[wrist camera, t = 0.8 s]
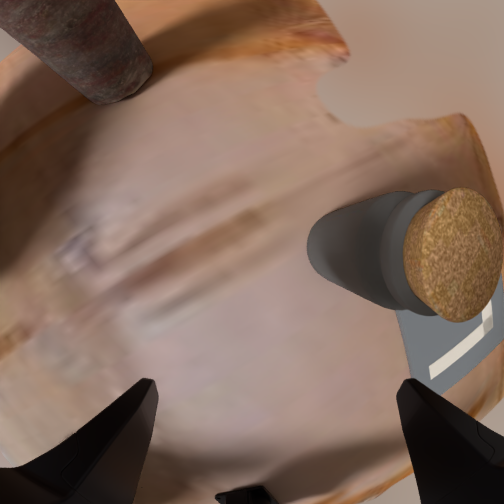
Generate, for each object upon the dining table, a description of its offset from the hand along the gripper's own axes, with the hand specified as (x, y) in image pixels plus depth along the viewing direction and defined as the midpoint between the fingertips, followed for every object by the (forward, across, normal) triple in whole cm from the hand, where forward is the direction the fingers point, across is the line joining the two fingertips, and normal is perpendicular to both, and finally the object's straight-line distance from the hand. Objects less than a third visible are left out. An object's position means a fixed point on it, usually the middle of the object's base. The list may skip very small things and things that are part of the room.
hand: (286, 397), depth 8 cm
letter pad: (+13, -22, +6) cm, 26 cm away
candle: (+20, +16, -16) cm, 30 cm away
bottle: (+15, -6, 0) cm, 16 cm away
